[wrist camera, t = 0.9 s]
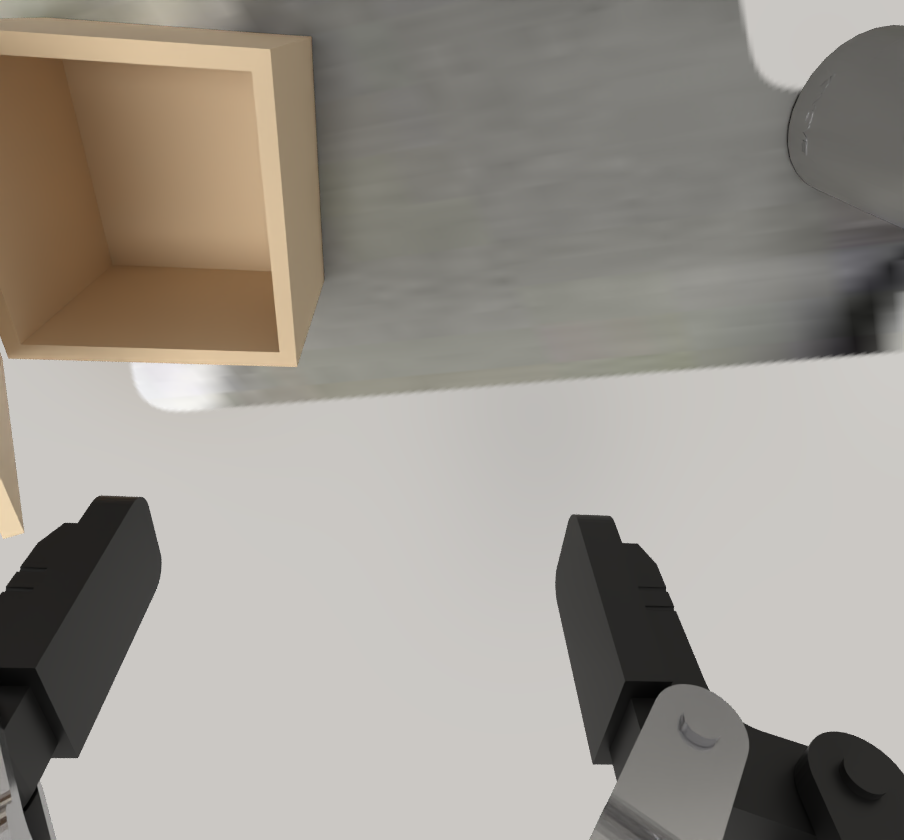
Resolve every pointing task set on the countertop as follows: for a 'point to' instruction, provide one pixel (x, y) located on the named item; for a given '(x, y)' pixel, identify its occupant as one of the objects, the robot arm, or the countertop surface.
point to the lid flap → (8, 471)
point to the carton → (157, 193)
